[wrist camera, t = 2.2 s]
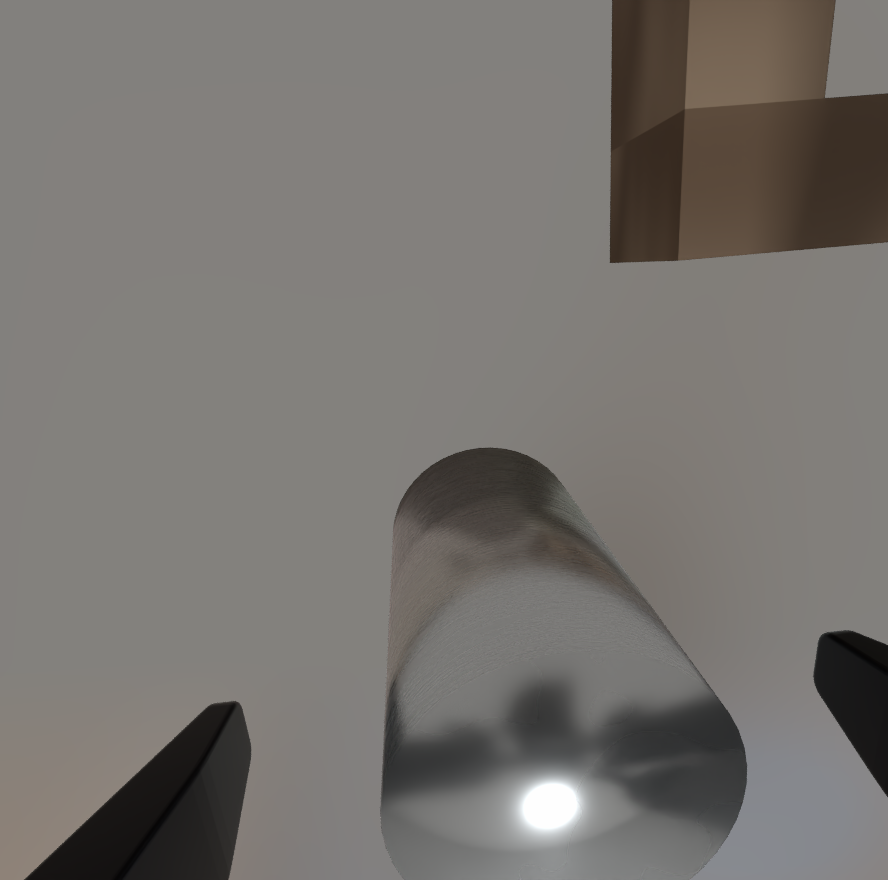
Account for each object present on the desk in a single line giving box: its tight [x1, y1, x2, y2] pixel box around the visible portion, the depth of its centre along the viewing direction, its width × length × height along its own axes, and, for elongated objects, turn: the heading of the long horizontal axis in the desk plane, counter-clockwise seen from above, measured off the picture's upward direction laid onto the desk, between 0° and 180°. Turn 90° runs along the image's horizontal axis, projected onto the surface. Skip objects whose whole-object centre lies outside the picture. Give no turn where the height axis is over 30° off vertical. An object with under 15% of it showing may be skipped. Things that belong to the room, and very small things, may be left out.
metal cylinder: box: [380, 448, 747, 880], centre depth 10 cm, size 4×4×7 cm
